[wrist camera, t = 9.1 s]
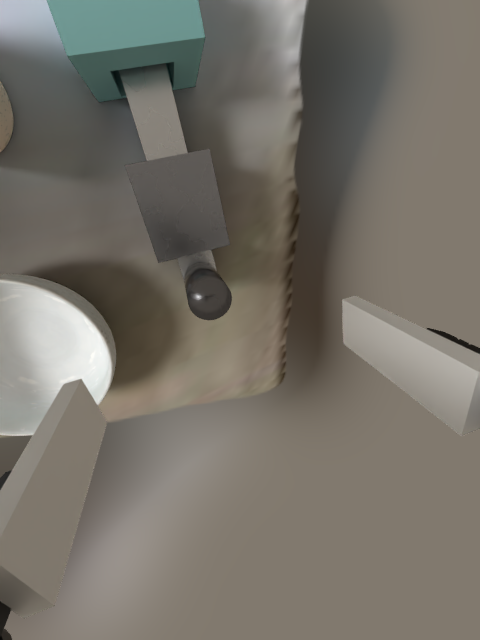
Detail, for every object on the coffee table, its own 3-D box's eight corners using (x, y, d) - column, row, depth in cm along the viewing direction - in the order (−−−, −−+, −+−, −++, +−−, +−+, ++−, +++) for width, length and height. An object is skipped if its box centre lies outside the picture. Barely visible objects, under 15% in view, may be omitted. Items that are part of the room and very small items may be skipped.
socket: (98, 102, 23) (67, 56, 16) (59, -9, 20) (0, -126, 13) (195, 86, 25) (205, 37, 17) (172, -21, 21) (173, -133, 14)
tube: (187, 290, 31) (195, 325, 22) (107, 31, 21) (58, -109, 12) (216, 282, 31) (235, 313, 22) (151, 25, 21) (137, -113, 12)
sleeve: (160, 252, 30) (158, 262, 24) (134, 174, 26) (124, 165, 20) (219, 237, 31) (230, 244, 25) (201, 160, 27) (209, 148, 21)
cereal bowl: (130, 386, 36) (122, 425, 29) (-15, 400, 31) (-62, 449, 25) (114, 263, 29) (99, 278, 23) (-72, 261, 25) (-155, 279, 19)
